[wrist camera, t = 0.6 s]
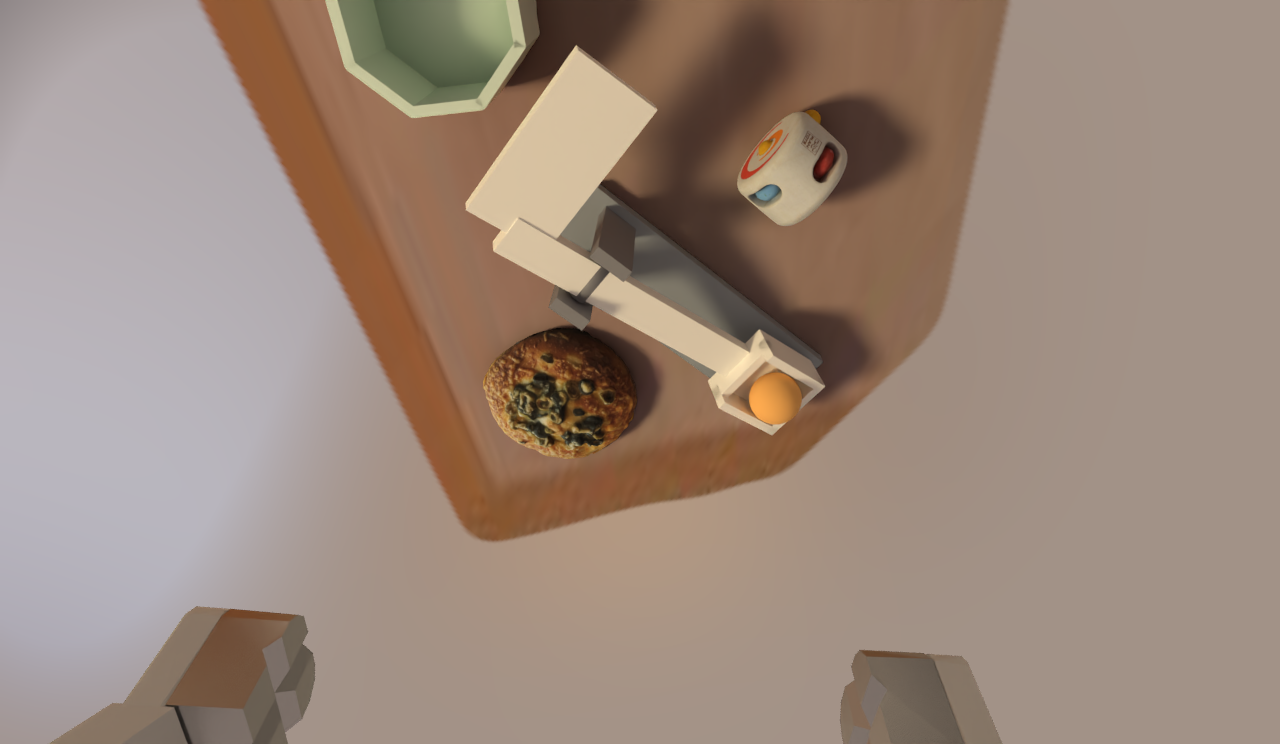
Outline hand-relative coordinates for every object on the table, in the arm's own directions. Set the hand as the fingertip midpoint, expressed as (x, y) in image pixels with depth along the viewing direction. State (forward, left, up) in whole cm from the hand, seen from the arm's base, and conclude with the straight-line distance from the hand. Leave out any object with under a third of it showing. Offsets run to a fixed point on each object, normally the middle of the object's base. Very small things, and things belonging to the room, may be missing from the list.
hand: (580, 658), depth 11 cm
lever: (+5, +7, -36) cm, 37 cm away
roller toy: (-3, +9, -41) cm, 42 cm away
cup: (+3, -12, -40) cm, 42 cm away
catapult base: (+9, +11, -40) cm, 43 cm away
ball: (+9, +18, -36) cm, 41 cm away
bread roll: (+20, +8, -41) cm, 46 cm away
